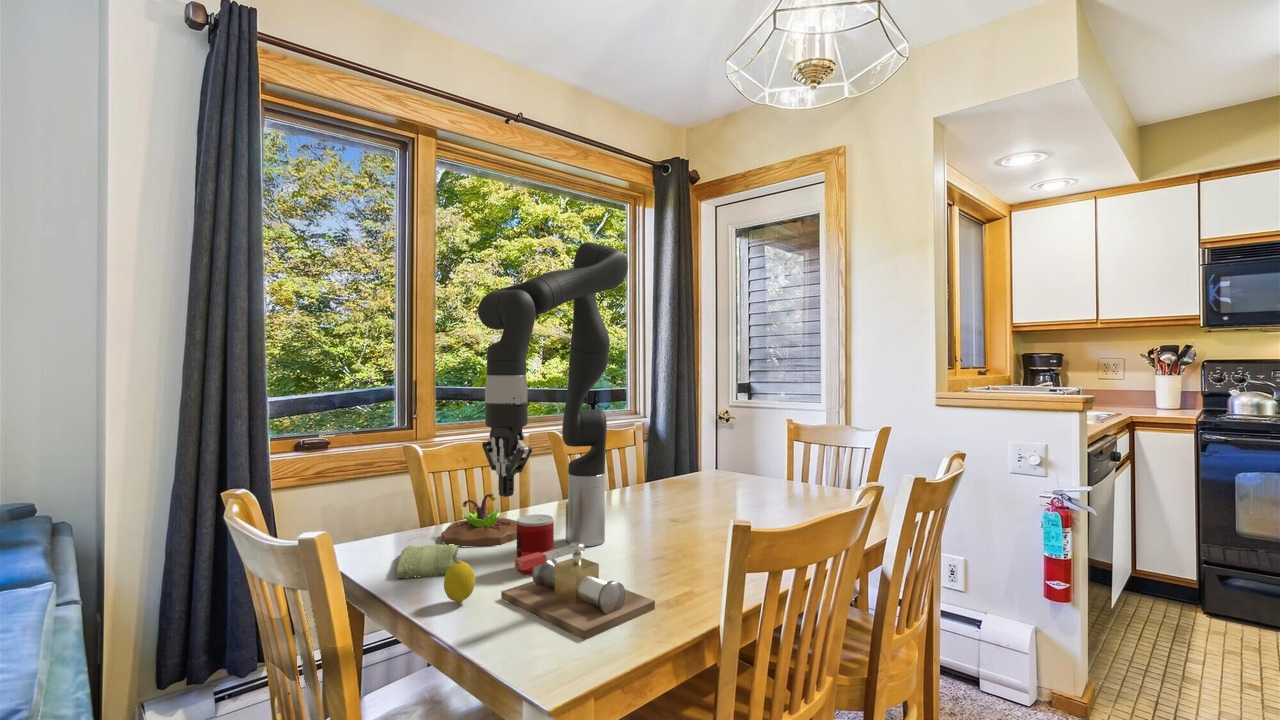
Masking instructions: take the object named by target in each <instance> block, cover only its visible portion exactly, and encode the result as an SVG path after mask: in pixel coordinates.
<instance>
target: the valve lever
mask: <svg viewBox="0 0 1280 720" xmlns="http://www.w3.org/2000/svg"><path fill="white" fill-rule="evenodd" d="M568 544H569V545H566V546H563V547H559V548H554V550H551V551H548V552H544V553H540V552H537V553H533V554H530V555H526V556H523V557H519V558H517V557H516V558H514V568H515V569H517V570H518V569H520V570H526V569H529V568H532V567H536V566H539V565H542V564H546V561H549V560H552V559H555V560H556V559H558V558H559V559H560V558H562V557H565V556H568V555H571V554H572V555H573V553H581V554H582V553H583V552H585V546H584V543H582V542H573V543H568Z"/></svg>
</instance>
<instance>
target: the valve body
mask: <svg viewBox="0 0 1280 720" xmlns="http://www.w3.org/2000/svg"><path fill="white" fill-rule="evenodd" d="M599 565H600V564H599V563H598V562H594V561H592V560H589V559H586V558H583V557H582V553H572V558H569V559H565V560H562V561H559V562H557V560H556V558H555V559H552V560H549V561H546V564H542V565H539V566H536V567H533V571H532V575H531V578H532V581H534V583H535V584H537V585H539V586H542V585H547V586H550V587H552V588H554V589H555V596H556V597H559V598H561V599H563V600H566V601H568V602H570V603H573V604H575V605H577V604H579V603H582V602H584V601H585V602H588V603H590V604H592V605H595V606H597V607H599V609H600V611H601V612H602V613H604V614H610V613H612V612H615V611H617V610H619V609H621V608H622V607H623V605H624V602H625V597H626V592H625V590H626V588H625V587H624V586H625V585H624V584H622V583H621V582H620V581H616V580H610V581H606V580H603V579H600V578H599V577H600V576H599V575H600V569H599V567H600V566H599Z"/></svg>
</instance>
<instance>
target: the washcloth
mask: <svg viewBox="0 0 1280 720" xmlns="http://www.w3.org/2000/svg"><path fill="white" fill-rule="evenodd" d="M459 550H460V548H459V546H456V545H445V544H426V545H423V546H414V545H408V546H406V547H404V548H402V550H401V553H400V556H399V558H398V560H397V563H396V568H395V570H396V571H395V572H396V574H395V575H396V578H397V579H398V578H404V579H407V578H406V577H414V578H416V577H417V578H419V577H418V576H422V577H430V576H429V575H438V576H445V574H446V572H447V570H448V568H449V567H450V566H451V565H453V564H454V563H456V562H457V561H458V560H457V559H458V558H457V557H458V556H457V555H458V551H459ZM443 574H444V575H443ZM415 576H416V577H415Z"/></svg>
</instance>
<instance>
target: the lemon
mask: <svg viewBox="0 0 1280 720" xmlns="http://www.w3.org/2000/svg"><path fill="white" fill-rule="evenodd" d="M456 561H457V562H456V563H454V564H453V565H451V566H450V567H449V568H448V570H447V572H446V574H445V575H444V580H443V589H444V593H445V595H446V596H447V598H448V599H450V600H451V601H453V602H455V603H457V605H458V604H462V602H464V601H465V600H467V599H468V598H469V597H471V595H472V594H473V591H474V590H475V585H476V578H475V573H474V570H473V568H472V566H471V565H470V564H469V563H467V562H464V561H463V560H460V559H459V560H456Z"/></svg>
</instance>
